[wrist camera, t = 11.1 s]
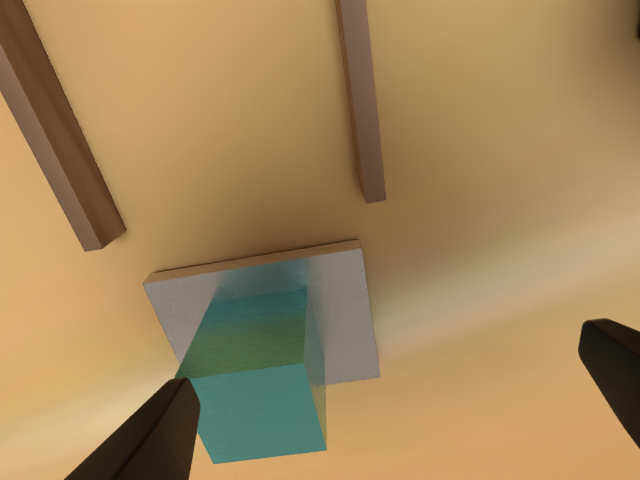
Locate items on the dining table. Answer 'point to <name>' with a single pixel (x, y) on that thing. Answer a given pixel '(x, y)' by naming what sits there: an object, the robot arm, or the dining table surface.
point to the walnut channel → (75, 156)
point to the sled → (268, 344)
